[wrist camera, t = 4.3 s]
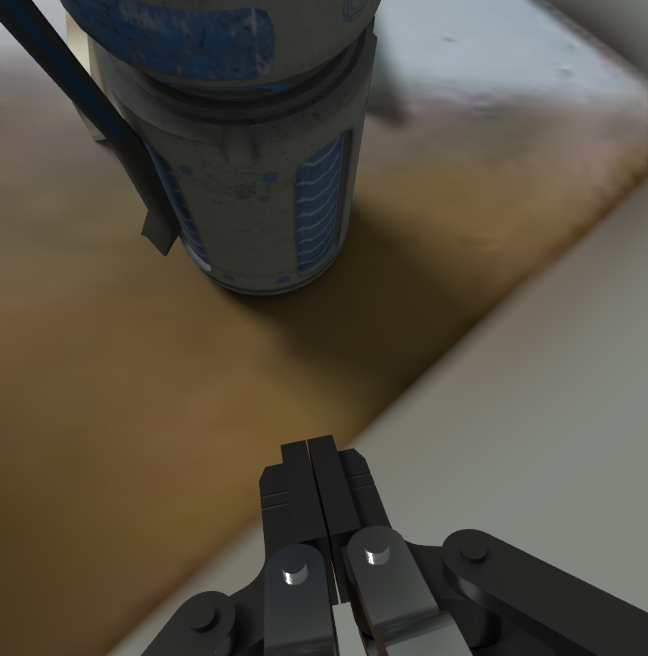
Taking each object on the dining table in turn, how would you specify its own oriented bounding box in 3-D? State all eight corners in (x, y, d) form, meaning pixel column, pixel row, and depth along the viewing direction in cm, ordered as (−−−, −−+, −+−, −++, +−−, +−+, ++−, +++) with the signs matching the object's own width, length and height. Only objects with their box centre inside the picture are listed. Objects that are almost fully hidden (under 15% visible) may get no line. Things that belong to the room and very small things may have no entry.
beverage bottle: (119, 245, 32) (-417, -501, 8) (282, 129, 35) (237, -647, 11) (223, 364, 30) (-97, -181, 6) (387, 230, 33) (600, -474, 9)
